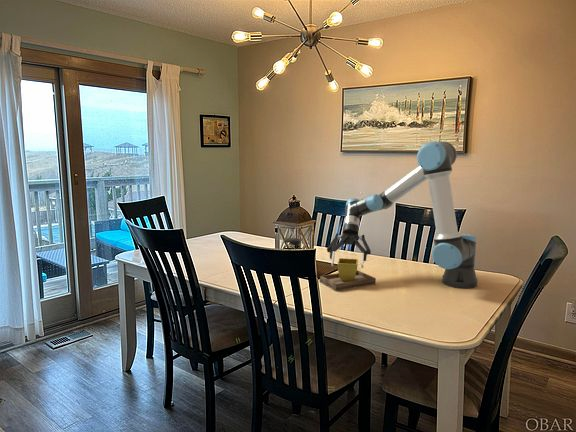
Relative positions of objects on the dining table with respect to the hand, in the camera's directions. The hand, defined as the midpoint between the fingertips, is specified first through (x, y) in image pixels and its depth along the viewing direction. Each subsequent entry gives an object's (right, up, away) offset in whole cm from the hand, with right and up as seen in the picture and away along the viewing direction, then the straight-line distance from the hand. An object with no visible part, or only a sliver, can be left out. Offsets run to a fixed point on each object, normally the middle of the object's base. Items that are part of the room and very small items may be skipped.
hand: (347, 265), depth 200 cm
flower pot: (0, -7, +2) cm, 7 cm away
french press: (-24, -6, +20) cm, 32 cm away
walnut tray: (0, -8, +2) cm, 8 cm away
